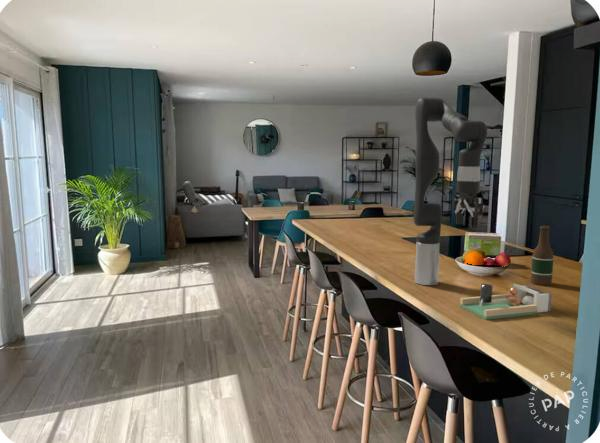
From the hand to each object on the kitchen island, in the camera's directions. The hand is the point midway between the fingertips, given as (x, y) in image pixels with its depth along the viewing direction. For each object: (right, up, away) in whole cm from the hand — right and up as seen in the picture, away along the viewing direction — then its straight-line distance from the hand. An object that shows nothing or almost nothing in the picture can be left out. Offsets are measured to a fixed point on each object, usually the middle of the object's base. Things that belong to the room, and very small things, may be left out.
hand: (466, 225), depth 165 cm
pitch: (+9, -29, -4) cm, 31 cm away
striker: (+10, -27, -4) cm, 29 cm away
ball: (+22, -26, -1) cm, 34 cm away
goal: (+22, -28, 0) cm, 36 cm away
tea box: (+31, -19, +67) cm, 76 cm away
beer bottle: (+41, -24, +30) cm, 57 cm away
